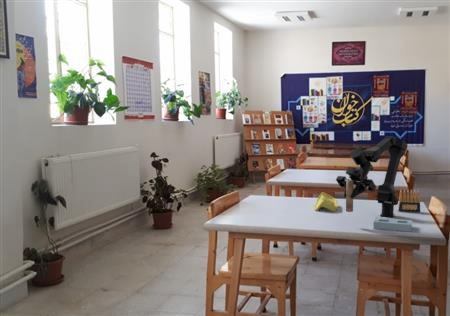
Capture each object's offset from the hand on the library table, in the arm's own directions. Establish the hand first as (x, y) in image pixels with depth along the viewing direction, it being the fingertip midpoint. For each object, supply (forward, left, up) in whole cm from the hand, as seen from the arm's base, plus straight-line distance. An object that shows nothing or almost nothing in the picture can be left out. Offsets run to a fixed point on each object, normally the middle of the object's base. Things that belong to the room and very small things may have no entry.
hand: (347, 197), depth 225 cm
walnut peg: (-1, +1, -7) cm, 7 cm away
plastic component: (-40, -17, -14) cm, 45 cm away
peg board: (-5, +20, -13) cm, 24 cm away
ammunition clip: (-46, +26, -14) cm, 54 cm away
